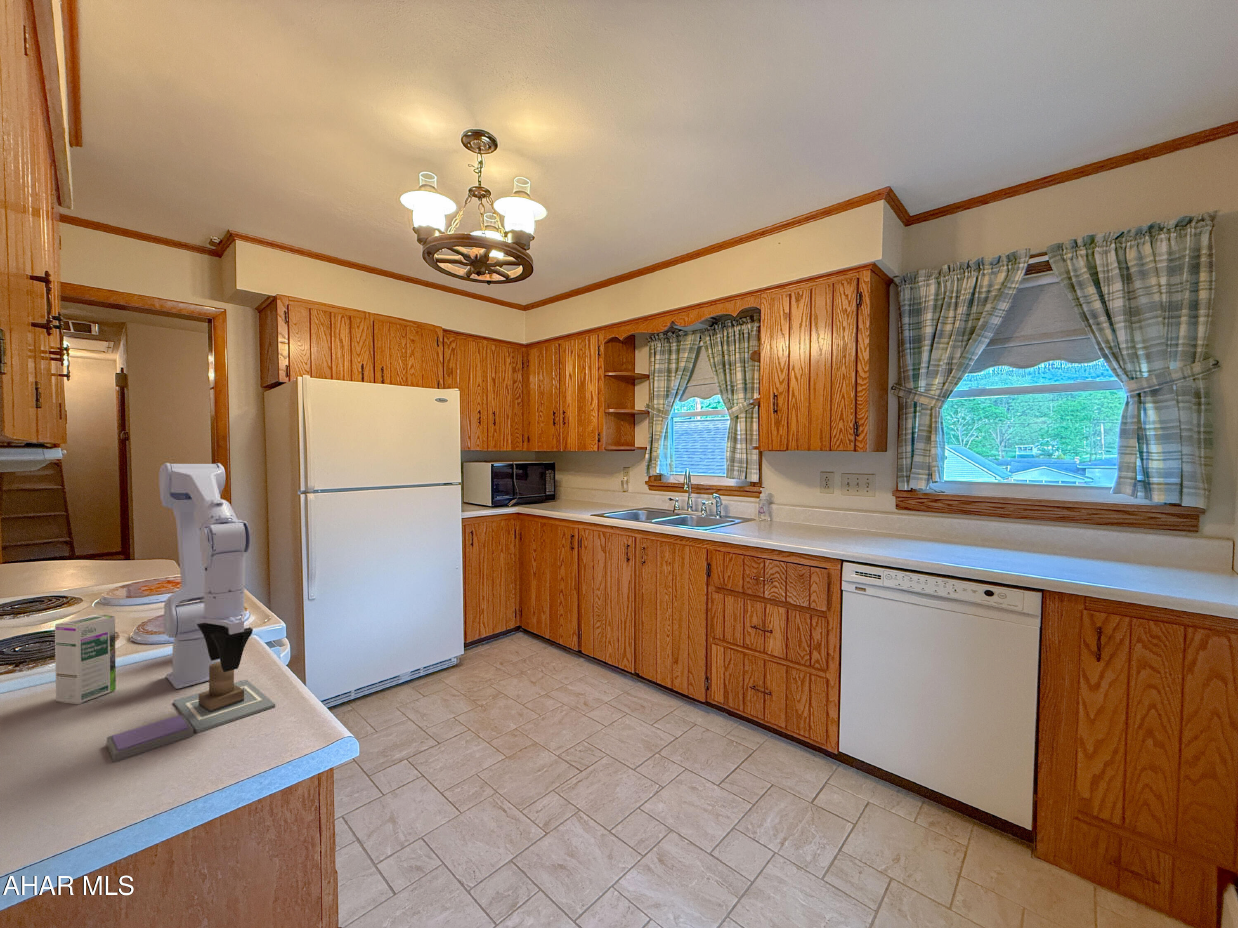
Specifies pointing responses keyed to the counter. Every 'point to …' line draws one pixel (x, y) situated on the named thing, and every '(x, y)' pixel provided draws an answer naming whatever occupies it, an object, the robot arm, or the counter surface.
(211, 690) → the stamp
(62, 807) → the counter surface
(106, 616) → the syrup box
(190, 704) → the board
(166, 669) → the counter surface
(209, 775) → the counter surface
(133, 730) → the ink pad
